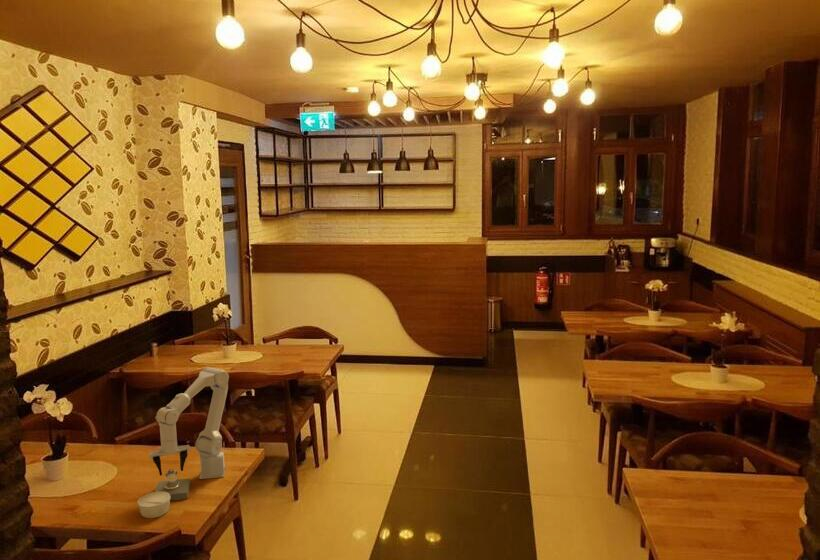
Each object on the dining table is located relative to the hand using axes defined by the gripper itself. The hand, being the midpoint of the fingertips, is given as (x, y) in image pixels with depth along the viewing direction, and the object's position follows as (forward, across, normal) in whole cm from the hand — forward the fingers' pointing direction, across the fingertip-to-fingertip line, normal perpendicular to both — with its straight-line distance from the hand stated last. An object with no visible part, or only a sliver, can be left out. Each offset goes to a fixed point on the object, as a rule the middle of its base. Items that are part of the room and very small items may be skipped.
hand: (171, 472), depth 246 cm
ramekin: (+9, +8, +12) cm, 17 cm away
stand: (+9, 0, 0) cm, 9 cm away
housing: (+6, 0, 0) cm, 6 cm away
